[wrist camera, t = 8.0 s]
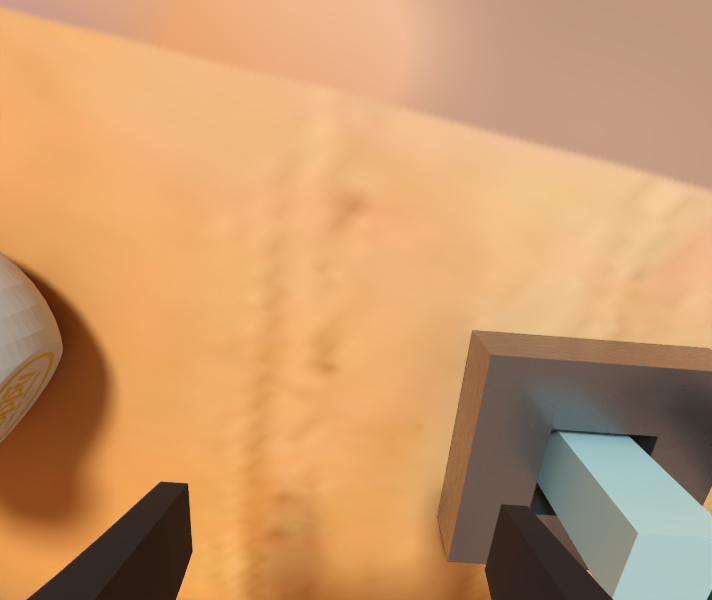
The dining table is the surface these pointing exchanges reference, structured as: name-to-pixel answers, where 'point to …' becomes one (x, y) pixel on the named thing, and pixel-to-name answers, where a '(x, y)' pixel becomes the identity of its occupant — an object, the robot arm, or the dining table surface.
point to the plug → (628, 517)
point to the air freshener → (23, 345)
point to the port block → (566, 423)
